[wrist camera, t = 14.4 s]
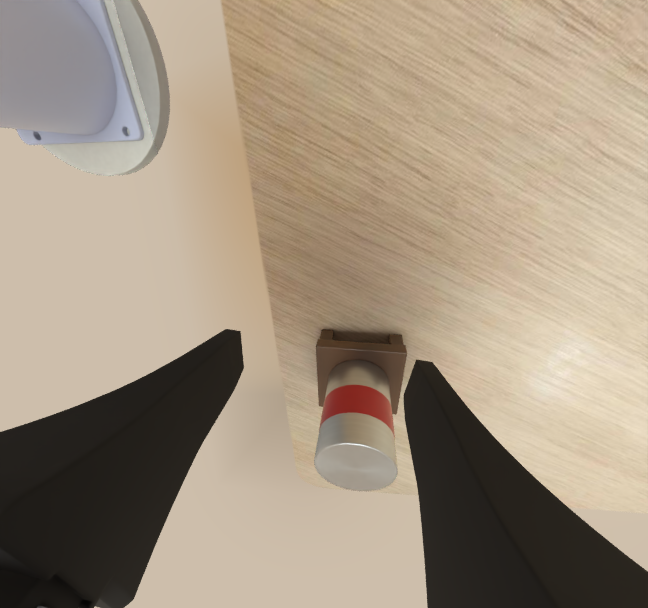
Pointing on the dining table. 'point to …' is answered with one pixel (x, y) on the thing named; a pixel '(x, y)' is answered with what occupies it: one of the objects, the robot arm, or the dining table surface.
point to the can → (357, 429)
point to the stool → (381, 355)
